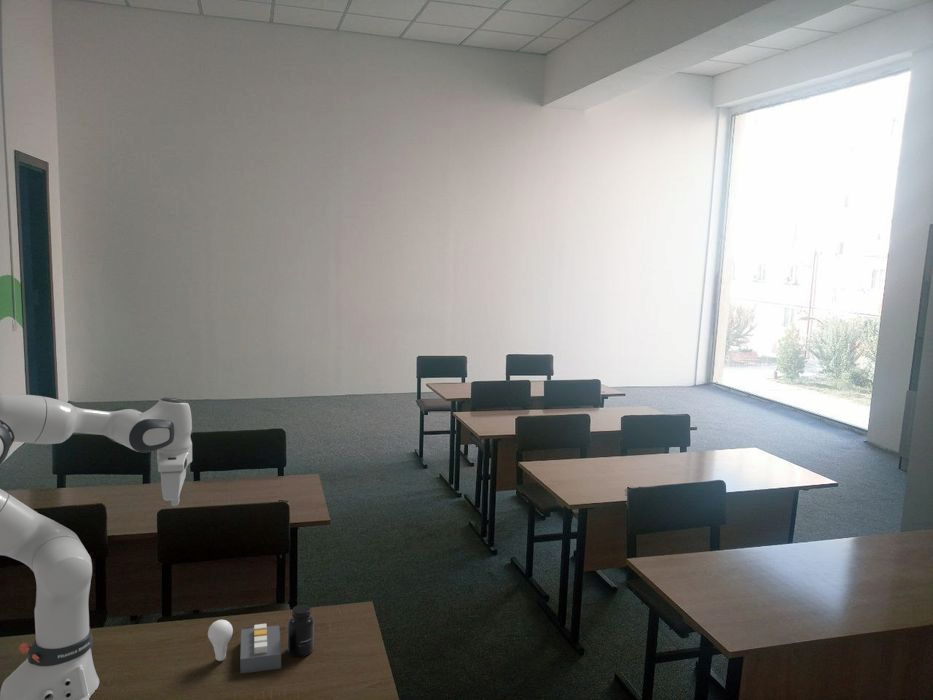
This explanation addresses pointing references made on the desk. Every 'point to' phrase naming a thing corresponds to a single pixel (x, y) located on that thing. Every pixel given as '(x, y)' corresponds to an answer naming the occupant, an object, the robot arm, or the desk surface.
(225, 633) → the lightbulb
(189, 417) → the robot arm
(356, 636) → the desk surface
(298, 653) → the supplement bottle
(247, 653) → the breaker strip
